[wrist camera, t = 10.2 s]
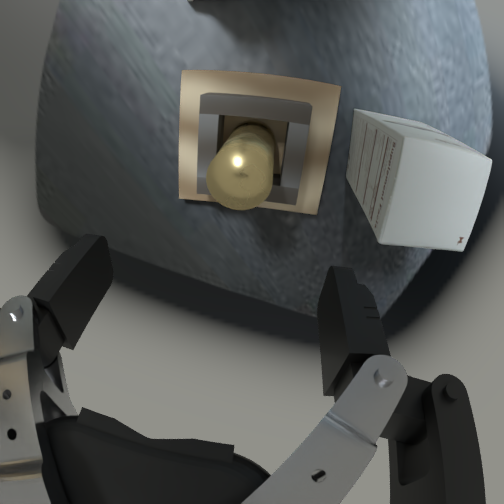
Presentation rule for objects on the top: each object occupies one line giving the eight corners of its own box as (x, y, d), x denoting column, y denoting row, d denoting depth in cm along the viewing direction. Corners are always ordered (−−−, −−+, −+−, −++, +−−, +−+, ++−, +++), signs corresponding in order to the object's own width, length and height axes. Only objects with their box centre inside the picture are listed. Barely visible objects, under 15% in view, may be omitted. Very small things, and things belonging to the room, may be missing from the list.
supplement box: (420, 120, 23) (497, 160, 13) (407, 187, 27) (464, 256, 17) (351, 105, 24) (404, 133, 13) (342, 177, 28) (377, 248, 17)
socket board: (185, 70, 23) (170, 70, 19) (338, 85, 23) (348, 87, 19) (182, 193, 30) (169, 211, 27) (315, 209, 30) (319, 229, 27)
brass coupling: (231, 118, 24) (205, 143, 16) (278, 122, 24) (278, 150, 16) (228, 161, 27) (203, 207, 18) (273, 166, 27) (269, 215, 18)
